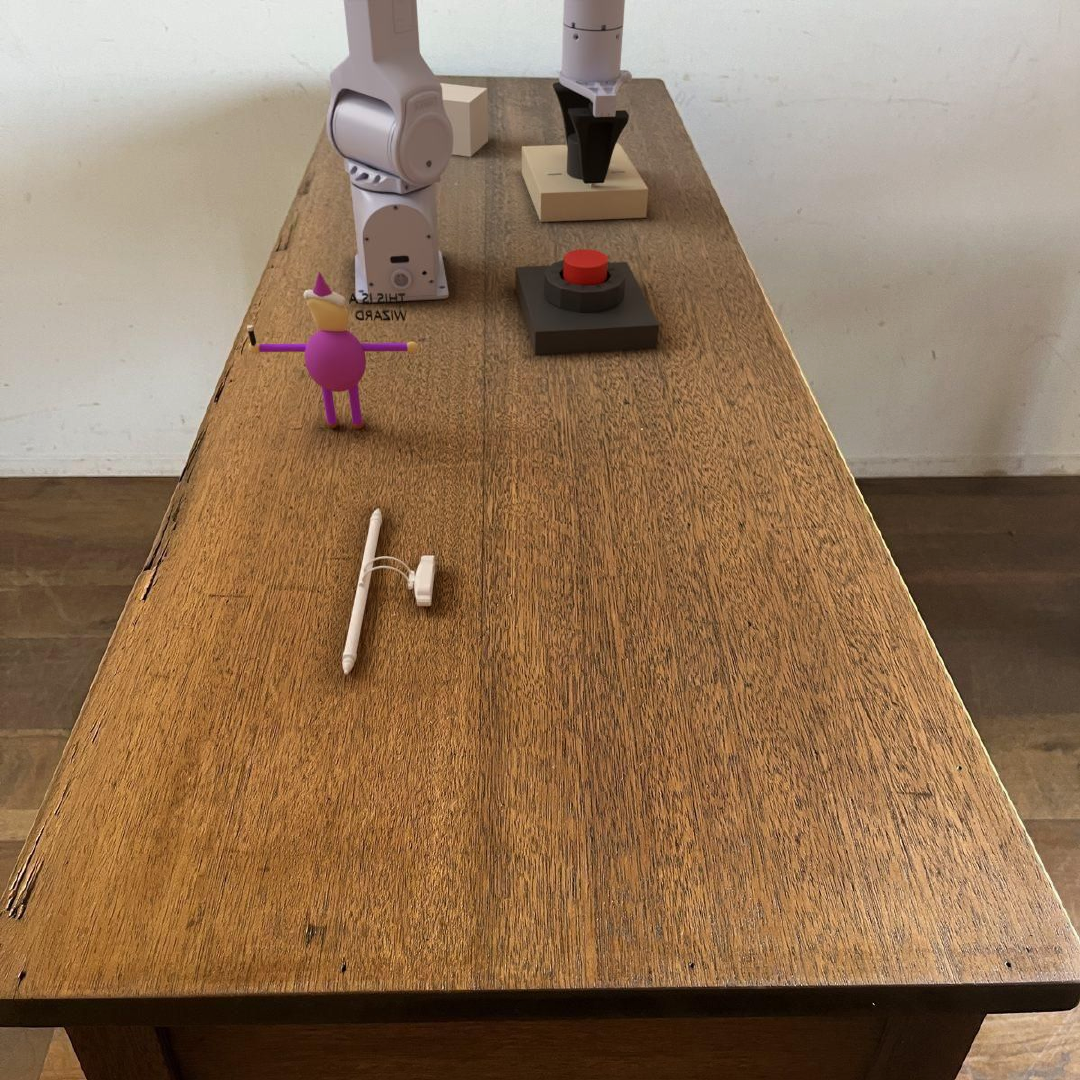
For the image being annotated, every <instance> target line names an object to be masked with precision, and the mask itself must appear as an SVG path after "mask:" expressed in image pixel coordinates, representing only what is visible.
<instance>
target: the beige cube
mask: <svg viewBox="0 0 1080 1080" xmlns="http://www.w3.org/2000/svg"><path fill="white" fill-rule="evenodd" d="M439 83H440V84H441V86H442V95H443V105H444V109H445V112H446V114H447V116H448V118H449V120H450V123H451V126H452V130H453V150H452V155H454V156H462V157H468V158H469V157H470V158H471V157H472V156H474V155H475V154H476V153H477V152H478V151H479V150H480V149H481V148H483V146H484V145H486V144H487V143H488V142H489V101H488V100H489V99H488V96H489V95H488V87H481V86H480V87H479V86H470V85H461V84H452V83H443V82H439Z"/></svg>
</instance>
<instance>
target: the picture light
mask: <svg viewBox="0 0 1080 1080" xmlns="http://www.w3.org/2000/svg"><path fill="white" fill-rule="evenodd" d="M382 524H383V515H382V511H381V509H380V508H376V509H375V510H374V511H373V513H372V514H371V516H370V519H369V527H368V532H367V538H366V543H365V547H364V553H363V557H362V562H361V566H360V567H361V568H360V573H359V577H358V580H357V581H358V582H357V587H356V592H355V596H354V602H353V607H352V611H351V616H350V621H349V627H348V632H347V637H346V641H345V647H344V650H343V652H342V657H341V660H342V662H341V664H342V670H343V673H344V675H349V673H350V672H351V671H352V669H353V667H354V666H355V663H356V661H357V656H358V654H357V652H358V648H359V647H358V646H359V641H360V635H361V631H362V625H363V621H364V620H363V619H364V615H365V609H366V604H367V599H368V595H369V594H368V593H369V588H370V583H371V577H372V572H373V571H375V570H379V569H388V570H392V571H396V572H397V573H399V574H401V575H402V576H403V577H404V578H405V581H406V582H407V590H409V591H410V590H413V589H414V597H415V600H416V606H417V607H430V606H431V605H432V597H433V588H434V579H435V573H436V555H422V556H421V557H420V562H419V564H418V566H417V569H416V571H415V570H411V568H410V567H409V566H408V565H407V563H405V562H404V561H402V560H401V559H399V558H396V557H393V556H387V555H386V556H385V555H384V556H377V557H375V556H376V552H377V551H376V550H377V546H378V540H379V535H380V530H381V529H380V528H381V526H382ZM382 559H383V560H384V559H388V560H392V561H396V562H398V563H400V564H401V565H403V566H404V567H405V568H406V570H407V571H408V574H409V575H408V576H407V575H406V574H405V573H404V572H403V571H401V570H400V569H398V568H396V567H393V566H390V565H389V566H388V565H378V566H374V562H375V561H378V560H382Z"/></svg>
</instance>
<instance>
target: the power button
mask: <svg viewBox="0 0 1080 1080" xmlns="http://www.w3.org/2000/svg"><path fill="white" fill-rule="evenodd" d="M563 260H564V266H563V278H564V280H565V281H567V282H569V283H572V284H577V285H582V286H587V285H598V284H601V283H604V282H605V281H606V279H607V265H608V262H609V258H608V256H607V255H606V254H605V253H603V252H601V251H599V250H596V249H589V248H588V249H587V248H580V249H579V248H578V249H574V250H571V251H568V252H566V253H565V255H564V256H563Z"/></svg>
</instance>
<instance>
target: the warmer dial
mask: <svg viewBox="0 0 1080 1080" xmlns="http://www.w3.org/2000/svg"><path fill="white" fill-rule="evenodd" d="M567 174H568V175H570V176H571V177H574V178H578V179H582V175H581V168H580V156H579V146H578V140H577V135H576V133H574V134H571V135H569V137H568V150H567Z"/></svg>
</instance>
